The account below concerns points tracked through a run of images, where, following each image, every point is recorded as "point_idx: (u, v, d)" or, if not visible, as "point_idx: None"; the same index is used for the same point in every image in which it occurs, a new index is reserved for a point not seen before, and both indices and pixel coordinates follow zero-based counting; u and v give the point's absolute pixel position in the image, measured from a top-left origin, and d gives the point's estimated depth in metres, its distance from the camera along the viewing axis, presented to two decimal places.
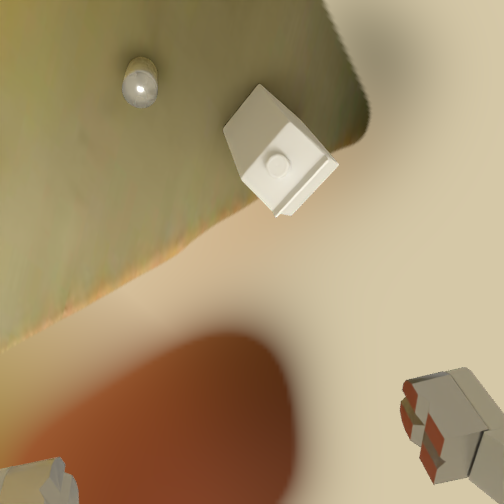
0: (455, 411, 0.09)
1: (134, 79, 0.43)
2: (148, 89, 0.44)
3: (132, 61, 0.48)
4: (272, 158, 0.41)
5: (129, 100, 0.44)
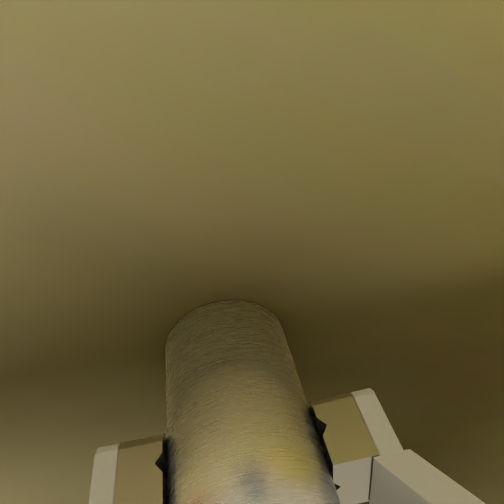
0: (349, 435, 0.09)
1: None
2: None
3: (290, 357, 0.11)
4: None
5: None
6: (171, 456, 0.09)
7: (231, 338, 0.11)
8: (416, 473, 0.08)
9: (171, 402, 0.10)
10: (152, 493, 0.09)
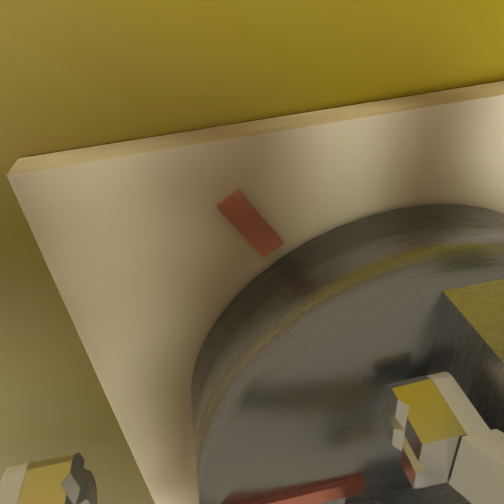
0: (434, 416, 0.09)
1: None
2: None
3: None
4: None
5: None
6: None
7: None
8: None
9: None
10: None
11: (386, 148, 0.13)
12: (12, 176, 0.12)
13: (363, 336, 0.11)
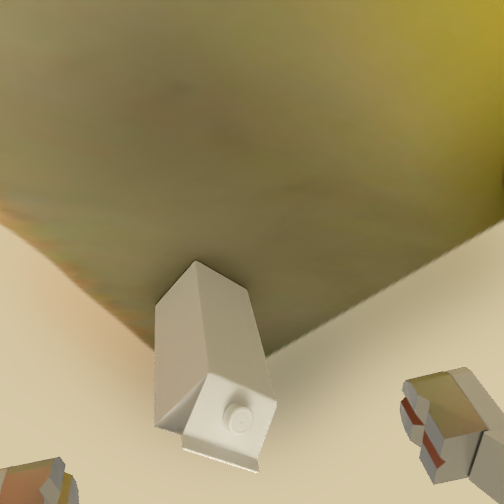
0: (455, 411, 0.09)
1: None
2: None
3: None
4: (248, 411, 0.33)
5: None
6: None
7: None
8: None
9: None
10: None
11: None
12: None
13: None
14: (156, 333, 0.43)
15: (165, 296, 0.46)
